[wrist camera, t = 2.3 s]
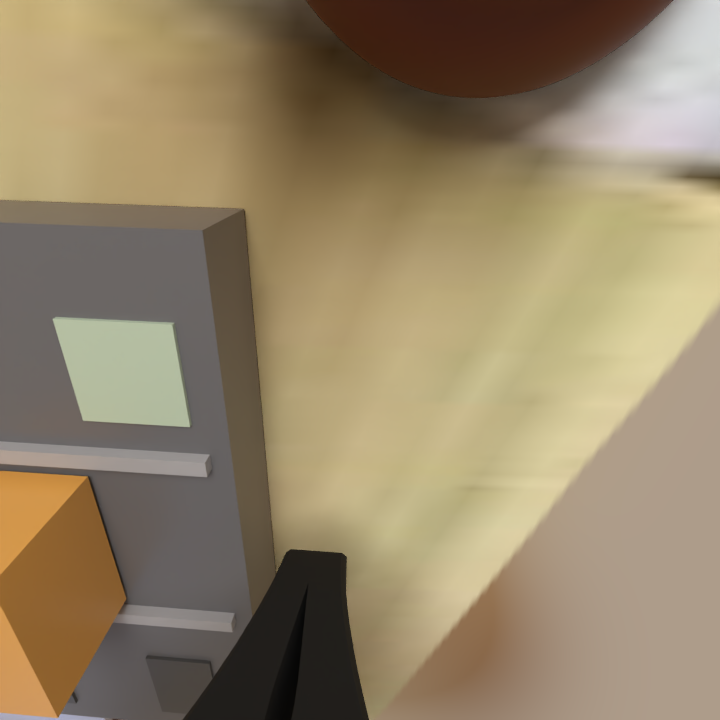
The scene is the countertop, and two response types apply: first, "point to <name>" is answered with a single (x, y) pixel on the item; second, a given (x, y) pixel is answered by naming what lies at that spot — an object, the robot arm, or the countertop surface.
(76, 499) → the block
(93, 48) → the countertop surface
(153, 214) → the grey block
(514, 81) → the poop emoji
